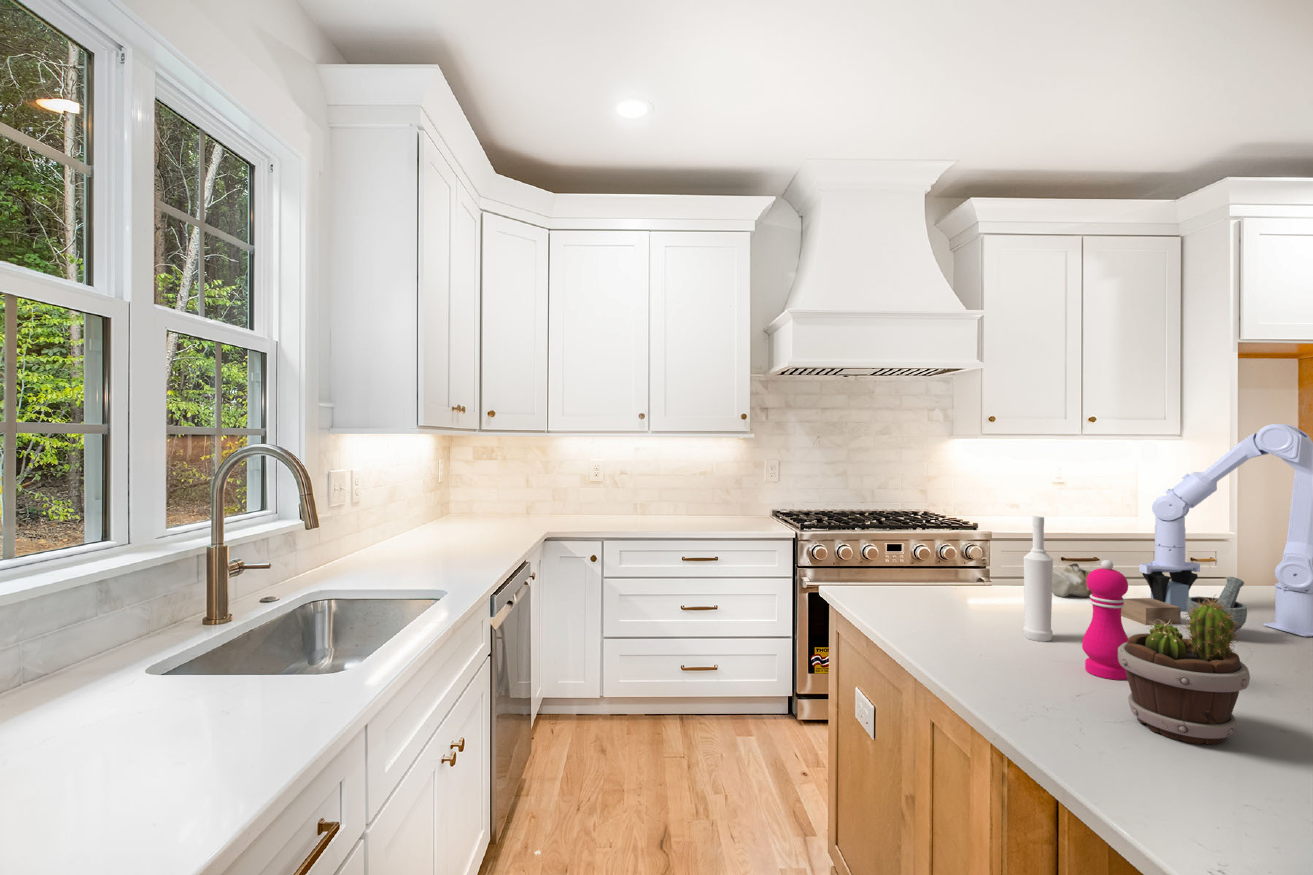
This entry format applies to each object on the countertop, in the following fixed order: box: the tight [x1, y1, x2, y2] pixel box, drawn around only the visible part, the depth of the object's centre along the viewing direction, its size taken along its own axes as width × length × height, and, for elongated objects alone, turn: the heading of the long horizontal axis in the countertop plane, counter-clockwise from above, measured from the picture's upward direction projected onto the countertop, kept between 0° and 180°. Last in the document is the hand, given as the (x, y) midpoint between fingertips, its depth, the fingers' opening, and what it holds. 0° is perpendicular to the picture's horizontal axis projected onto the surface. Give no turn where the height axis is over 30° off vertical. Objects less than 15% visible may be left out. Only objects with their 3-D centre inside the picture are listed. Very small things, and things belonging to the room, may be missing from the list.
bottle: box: [1022, 515, 1054, 643], centre depth 131 cm, size 5×5×25 cm
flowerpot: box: [1118, 594, 1251, 745], centre depth 91 cm, size 14×15×20 cm
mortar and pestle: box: [1186, 576, 1248, 641], centre depth 133 cm, size 11×9×12 cm
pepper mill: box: [1081, 559, 1129, 681], centre depth 112 cm, size 7×7×20 cm
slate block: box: [1150, 580, 1190, 612], centre depth 153 cm, size 5×5×6 cm
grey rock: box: [1052, 563, 1092, 598], centre depth 164 cm, size 11×9×15 cm
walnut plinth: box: [1121, 597, 1182, 626], centre depth 144 cm, size 8×8×4 cm
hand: (1169, 602), depth 153 cm, fingers closed on slate block, 5 cm apart
